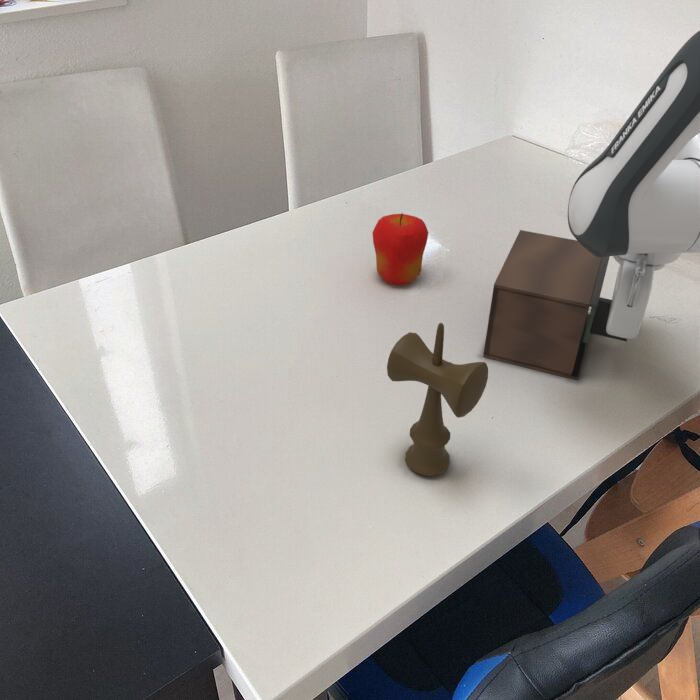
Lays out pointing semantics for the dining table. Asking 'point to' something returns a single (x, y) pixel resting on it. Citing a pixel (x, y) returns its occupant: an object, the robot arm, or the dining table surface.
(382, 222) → the apple
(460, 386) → the kendama
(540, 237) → the cabinet
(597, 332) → the door
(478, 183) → the dining table surface
